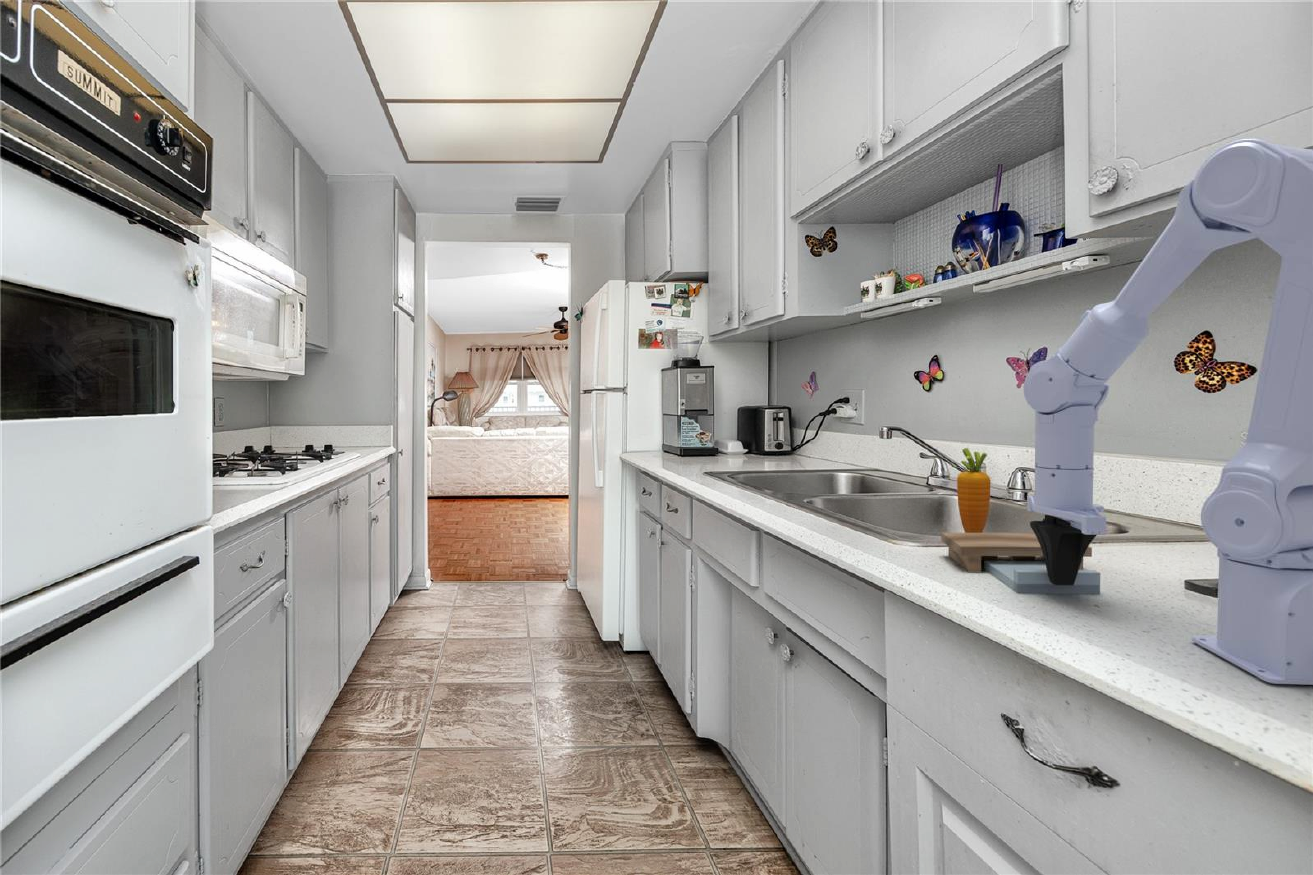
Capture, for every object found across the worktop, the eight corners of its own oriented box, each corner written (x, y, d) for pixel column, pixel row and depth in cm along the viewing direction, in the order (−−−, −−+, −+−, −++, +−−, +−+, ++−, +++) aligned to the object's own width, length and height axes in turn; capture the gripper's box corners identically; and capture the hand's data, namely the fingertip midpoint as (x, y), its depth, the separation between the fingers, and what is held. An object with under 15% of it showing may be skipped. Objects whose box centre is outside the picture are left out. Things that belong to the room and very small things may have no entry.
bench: (1091, 573, 85) (1091, 547, 85) (961, 571, 87) (961, 546, 87) (1058, 556, 94) (1059, 533, 94) (941, 555, 96) (941, 532, 96)
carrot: (997, 546, 100) (998, 449, 100) (964, 547, 100) (965, 450, 100) (981, 539, 105) (981, 446, 105) (950, 540, 105) (950, 447, 105)
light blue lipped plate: (1099, 595, 76) (1100, 572, 76) (1017, 593, 78) (1017, 572, 77) (1055, 570, 87) (1056, 550, 87) (984, 569, 88) (984, 550, 88)
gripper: (1139, 474, 67) (1136, 604, 68) (1070, 460, 82) (1068, 567, 83) (1065, 474, 68) (1063, 602, 69) (1009, 460, 83) (1008, 567, 84)
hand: (1061, 583), depth 76 cm, fingers closed
